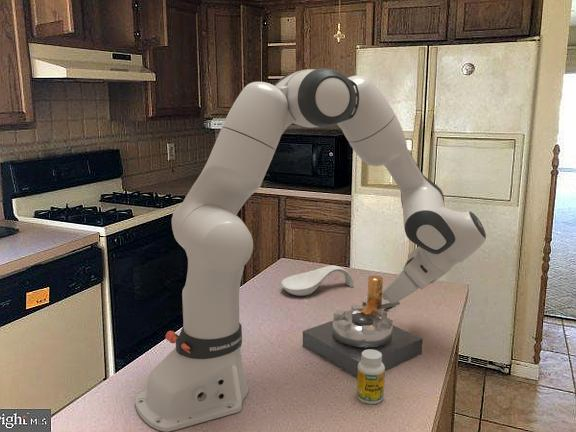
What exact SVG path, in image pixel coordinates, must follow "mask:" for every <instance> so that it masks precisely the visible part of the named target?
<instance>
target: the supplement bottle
mask: <svg viewBox="0 0 576 432" xmlns="http://www.w3.org/2000/svg"><path fill="white" fill-rule="evenodd" d="M361 359H362V360H361V361H360V362H359V364H358V376H357V378H356V380H357V381H356V382H357V383H356V397H357V398H358V400H359V401H361V402H363V403H365V404H367V405H368V404H370V405H375V404H379V403H381V402H382V401H383V399H384V397H385V393H384V392H385V378H386V377H385V376H386V375H385V373H386V371H385V366H384V364H383V363H382V362H381V361H382V354H381V353H380V352H379V351H377V350H372V349H368V350H364V351H363V352H362V355H361Z"/></svg>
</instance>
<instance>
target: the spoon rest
mask: <svg viewBox="0 0 576 432" xmlns="http://www.w3.org/2000/svg"><path fill="white" fill-rule="evenodd" d="M334 272H339V273H341V274H343V275H344V283H345V284H346V285H347V286H349V287H350V288H354V287H355V283H354V278H353V276H352V275H351V273H350V272H349V271H348V270H346V269H344V268H343V267H341V266H338V265H327V266H323V267H320V268H316V269H313V270H310V271H306V272H302V273H297V274H293V275H289V276H287V277H284V278H283V279H282V280H281V283H280V284H281V286H282V289H284V290H285V291H286V292H287V293H288V294H290V295H293V296H298V297H304V296H305V297H306V296H310V295H311V294H313V292H315V291H316V290H317V289H318V287H319V286H320V285H321V284H322V283H323V282H324V280H325V279H327V277H328V276H329V275H330V274H332V273H334Z"/></svg>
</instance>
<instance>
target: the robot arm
mask: <svg viewBox="0 0 576 432" xmlns="http://www.w3.org/2000/svg"><path fill="white" fill-rule="evenodd" d="M224 119H225V120H224V122H223V124H222V126H221V128H220V131H219V133H218V136H217V138H216V140H215V143H214V146H213V147H212V149H211V152H210V155H209V157H208V159H207V162H206V163H205V165H204V167H203V170H202V171H201V173H200V174H199V176H198V177H197V179H196V180H195V182H194V183H193V184H192V186H191V188H190V190H189V191H188V193H187V195H186V196H185V198H184V199H183V201H182V202H181V203H180V204H179V205H178V206H177V207H176V208H175V209H174V211H173V213H172V217H171V230H172V233H173V234H172V235H173V236H174V239H175V241H176V242H177V243H178V245H180V247H182V248H183V250H184V251H185V253H186V257H187V273H186V281H185V284H184V287H183V288H182V293H181V297H182V319H183V320H182V322H183V326H182V328H181V330H180V333H179V334H177V333H176V332H175V331H174V330H168V331H167V332H166V334H165V340H166V341H167V342H169V343H170V344H175V347H174V349H172V350H171V352H169V353H168V354H167V355H166V357H164V359H162V360H161V361H160V363H159V362H158V364H157V365H156V366H155V367H154V368H153V369H152V370H151V371H150V372H149V375H148V378H147V382H146V383H147V384H146V389H145V390H143V391H141V392H138V393H137V395H136V397H135V403H134V404H135V410H136V411H137V413H138V415H139V416H140V417H141V419H142V420H143V422H144V423H146V424H147V425H148V426H150V427H152V428H153V429H155V430H157V431H161V432H172V431H176V430H180V429H183V428H184V429H185V428H188V427H191V426H194V425H198V424H200V423H204V422H208V421H211V420H215V419H219V418H223V417H226V416H230V415H233V414H236V413H237V414H238V413H239V412H241V411H242V409H243V401H244V400H245V398H246V396H247V395H248V393H249V384H248V382H247V379H246V375H245V371H244V367H243V359H242V351H241V348H242V344H243V333H242V331H243V330H242V329H243V328H242V324H241V323H240V289H241V282H242V277H243V272H244V268H245V265H247V263H248V262H249V260H250V259H251V256H252V254H253V250H254V239H253V236H252V234H251V232H250V230H249V228H248V227H247V226H246V224H245V222H244V221H243V220H242V219H241V218H240V217H239V216H238V213H239V211H240V210H241V209H242V207H243V206H244V205H245V203H246V202H247V201H248V199H250V197H251V196H252V195H253V194H254V193H256V192H257V191H258V190H259V189H260V188H261V186H262V183H263V181H264V178H265V176H266V174H267V171H268V170H269V167H270V165H271V163H272V160H273V157H274V155H275V153H276V151H277V147H278V145H279V143H280V140H281V137H282V135H283V134H284V132H285V131H286V130H287V129H288V127H290V126H300V127H303V128H328V127H332V126H336V125H337V126H338V128H340V129H341V131H342V133H343V135H344V137H345V138H346V140H347V141H348V144H349V146H350V147H351V148H352V150H353V152H354V153H356V155H357V156H358V157H359V158H360V160H362V161H363V163H365V164H366V165H369V166H373V167H380V166H384V167H385V169H386V170H387V172H389V175H390V176H391V178H392V179H393V181H394V182H395V184H396V185H397V187H398V189H399V191H400V202H401V208H402V215H403V217H402V218H403V219H402V220H403V227H404V233H405V235H406V237H407V238H408V239H409V241H410V242H411V243H413V244H414V245H416V246H417V247H416V248H414V249H413V250H412V251H410V252H409V253H408V255H407V259H406V263H405V264H404V266H403V267H402V270H401V272H400V273H399V274H398V275H396V276H395V278H394V279H393V280H392V281H391V282H390V284H389V285H387V286H386V287H385V289H384V290H382V294H381V296H382V300H385V301H387V302H388V301H389V302H390V303H391V304H393V303H396V302H400V301H402V300H403V299H404V298H406V297H408V296H409V295H411V294H413V293H414V292H416V291H417V290H419V289H420V290H423V289H425V288H427V286H429V285H431V284H433V283H436V282H437V280H439V279H441V278H442V277H443V276H444V275H446V274H448V273H449V272H450V271H451V270H452V268H453V267H454V266H456V265H457V264H460V263H462V262H464V261H465V260H467V259H468V258H469V257H470V256H472V255H473V254H474V253H475V252H476V251H477V250H479V248H481V247H482V245H484V243H485V242H486V238H487V234H486V231H485V227H484V226H483V224H482V222H481V221H480V219H479V218H478V216H477V215H476V214H475V213H473V212H472V211H468V210H467V211H458V210H453V209H451V208H447V207H446V205H445V195H444V192H443V190H442V189H441V188H440V187H439V186H438V185H437V184H436V183H434V182H433V181H432V180H430V179H429V178H428V177H426V176H425V174H424V173H423V172H422V170H420V168H419V165H418V164H417V163H416V161H415V159H414V158H413V156H412V154H411V153H410V150H409V149H408V145H407V140H406V139H407V138H405V137H406V135H405V133H404V131H403V128H402V126H401V123H400V121H399V119H398V117H397V114H396V113H395V111H394V110H393V108H392V106H391V104H390V103H389V101H388V99H386V97H385V96H384V94H383V93H382V92H381V90H380V89H379V87H377V85H376V83H374V82H373V81H372V80H371V79H370V78H369V77H367V76H366V75H359V74H358V75H352V76H349V77H347V76H345V75H344V74H342V73H341V72H339V71H338V70H335V69H332V68H326V67H321V68H316V69H314V68H308V69H307V68H306V69H305V68H304V69H302V70H299V71H295V72H291V73H289V74H286V75H284V76H282V77H281V78H280V79H278V81H277V82H275V83H274V84H271V83H269V82H266V81H253V82H250V83H247V85H245V86H244V88H242V90H241V91H240V93H239V95H238V96H237V98H236V99H235V101H234V102H233V104H232V106H231V108H230V110H229V111H228V114H227V116H226V117H225V118H224Z"/></svg>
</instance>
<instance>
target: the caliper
mask: <svg viewBox="0 0 576 432" xmlns="http://www.w3.org/2000/svg"><path fill="white" fill-rule="evenodd" d="M398 304H401V302H400V301H398V302H396V303H393V304H391V303H390V302H389V301H388V300H387V301H385V302H383V301H382V307H381V309H382V310H384V309H388V308H393V307H396V306H397V305H398ZM366 305H367V300H366V301H362V307H363V308H364V307H365V306H366Z"/></svg>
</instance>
